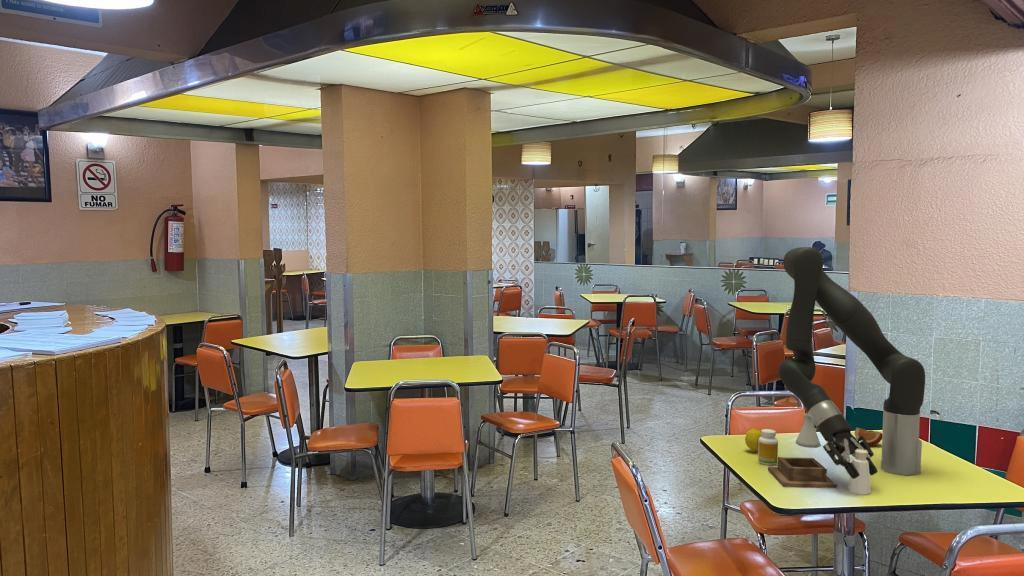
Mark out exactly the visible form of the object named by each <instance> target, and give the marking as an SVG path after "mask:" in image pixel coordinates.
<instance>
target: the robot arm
mask: <svg viewBox="0 0 1024 576" xmlns="http://www.w3.org/2000/svg"><path fill="white" fill-rule="evenodd" d="M782 261H783V262H782V265H783V268H784V271H785V273H786V274H788V275H787V276H789V277H790V278H791V279H792V280H793V282H794V286H793V287H794V288H793V289H794V291H793V298H792V302H791V305H790V310H789V312H788V317H787V320H786V329H785V331H786V332H785V348H786V349H787V350H788V351H791V352H792V353H793V358H794V359H787V360H786V359H785V360H784V361H782V362H781V363H780V364H779V365H778V376H779V378H780V380H781V382H782V384H783V385H784V386H785V387H786V388H787V389H788V391H790V392H791V393H792V394H793V395H794V396H795V397H796V398H797V399H798V400H800V403H802V406H803V407H804V408H805V410H806V412H807V413H809V415H810V417H811V419H812V421H813V422H814V426H815V428H817V429H818V432H819V433H820V434H821V436H822V437H823V439H824V441H825V444H824V445H823V446H822V449H824V451H825V452H826V454H827V455H828V456H829V458H830V459H831V460H832V462H833V463H834V465H836V466H839V465H840V466H841V467H844V469H845V471H846V472H847V474H848V475H849V477H850V476H851V477H852V479H855V478H857V477H858V476H859V473H858V471H857V469H856V468H855V466H854V465H853V463H852V461H851V458H850V456H852V457H854V458H855V457H856V456H855V454H856V453H855V450H858V449H861V450H865V451H867V454H866V455H867V456H866V460H867V461H868V463H869V475H870V476H875V474H877V473H878V472H879V471H878V469H877V467H876V465H875V464H874V462H873V461H872V460H871V458H872V457H874V455H875V453H874V452H873V450H872V449H871V447H870V445H868V443H867V442H866V440H865V439H864V437H863V436H860V437H859V438H856V436H855V435H853V434H852V432H851V430H852V427H851V425H850V424H849V422H848V421H847V420H846V418H845V417H844V415H843V413H842V412H841V411H840V409H839V408H838V406H837V405H836V404H835V403H834V402H833V401H832V400H831V399H832V398H830V396H829V395H828V394H827V392H826V390H825V389H824V388H823V387H822V386H821V385H819V384H816V383H813V382H812V381H813V379H814V377H815V375H816V370H817V369H816V361H815V356H814V352H813V347H812V343H813V332H814V331H813V330H814V327H813V326H814V315H815V307H816V306H815V305H816V303H817V305H819V306H820V308H821V309H822V311H824V312H825V314H826V315H827V316H828V317H829V319H831V321H832V322H833V323H834V325H836V326H837V328H838V329H839V330H840V331H841V332H842V333H843V334H844V335H845V336H846V337H847V338H848V339H849V340H850V341H851V342H852V343H853V344H854V345H855V346H856V347H857V348H858V349H860V351H862V352H863V353H864V354H865V355H866V357H867V358H868V359H869V360H870V362H871V363H872V364H873V366H874V367H875V369H876V370H877V371H878V372H879V374H880V376H881V377H882V378H883V380H884V381H886V382H887V383H888V384H889V394H888V397H887V398H886V399H884V401H883V406H882V407H883V412H882V432H881V433H882V440H881V455H880V456H881V457H880V458H881V460H880V468H881V469H882V470H883V471H885V472H888V473H891V474H894V475H895V474H896V475H901V476H903V475H904V476H913V475H917V474H921V472H922V448H923V441H922V440H921V439H919V438H920V418H921V408H922V405H923V403H924V399H925V389H926V371H925V368H924V366H923V364H922V363H921V362H920V361H919V360H917V359H915V358H912V357H910V356H907V355H905V354H903V353H902V352H901V351H899V350H898V349H897V348H896V347H895V346H894V345H893V344H892V343H891V342H890V341H889V340H888V339H887V338H886V336H885V335H884V333H883V331H882V329H881V327H880V326H879V324H878V322H877V320H876V319H875V316H874V315H873V314H872V313H871V312H870V310H868V308H867V307H866V306H865V305H864V304H863V303H862V302H861V301H860V300H859V299H858V298H857V297H856V296H855V295H853V294H852V293H850V291H848V290H846V288H844V287H842V286H841V285H840V284H838V283H836V282H835V281H834V280H833V279H832V278H831V277H829V275H828V274H827V273H826V272H825V271H824V269H823V268H824V258H823V255H822V253H821V252H820V251H819V250H818V249H816V248H815V247H813V246H812V247H811V246H803V247H802V246H801V247H800V246H799V247H794V248H792V249H789V251H787V252H786V253H785V254H784V257H783V259H782ZM817 429H816V430H817Z"/></svg>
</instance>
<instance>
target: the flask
mask: <svg viewBox="0 0 1024 576" xmlns="http://www.w3.org/2000/svg"><path fill="white" fill-rule="evenodd" d="M803 417H804V419H803V424H802V427H801V429H800V432H799V434H798V435H797V438H796V440H795V443H796V445H799V446H802V447H806V448H817V447H821V441H820V438H819V436H818V434H817V433H818V432H817V431H816V430H817V429H816V426H815V424H814V422H813V421H812V419H811V417H810V415H809V413H808V412H805V413H803Z"/></svg>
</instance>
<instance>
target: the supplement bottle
mask: <svg viewBox="0 0 1024 576" xmlns="http://www.w3.org/2000/svg"><path fill="white" fill-rule="evenodd" d="M760 432H761V435H762V437H760V438H759V449H758V451H757V454H758V456H757V457H758V458H757V460H758V461H757V462H758V463H759V464H762V465H764V466H765V465H766V466H775V465H776V466H777V465H778V457H779V456H778V453H779V451H778V450H779V440H778V438H777V437H776V434H777V433H776V432H777V431H776V430H774V429H769V428H764V429H761V431H760Z"/></svg>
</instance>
